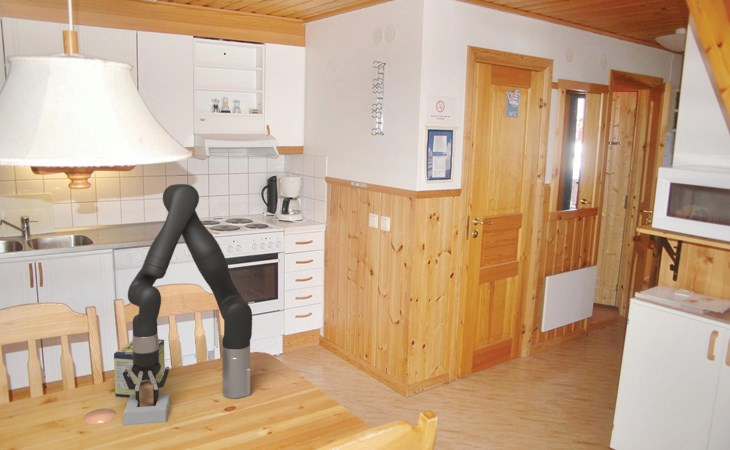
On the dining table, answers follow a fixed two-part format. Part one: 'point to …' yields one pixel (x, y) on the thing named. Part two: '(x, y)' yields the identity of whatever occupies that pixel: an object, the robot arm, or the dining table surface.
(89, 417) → the coaster
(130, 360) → the protein box
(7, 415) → the dining table surface
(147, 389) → the walnut block
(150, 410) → the pocket holder
